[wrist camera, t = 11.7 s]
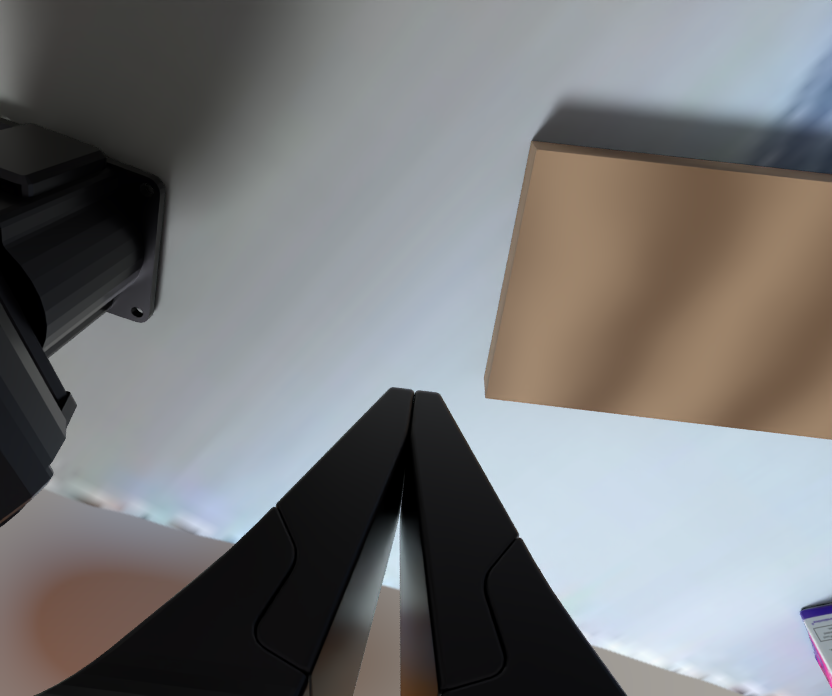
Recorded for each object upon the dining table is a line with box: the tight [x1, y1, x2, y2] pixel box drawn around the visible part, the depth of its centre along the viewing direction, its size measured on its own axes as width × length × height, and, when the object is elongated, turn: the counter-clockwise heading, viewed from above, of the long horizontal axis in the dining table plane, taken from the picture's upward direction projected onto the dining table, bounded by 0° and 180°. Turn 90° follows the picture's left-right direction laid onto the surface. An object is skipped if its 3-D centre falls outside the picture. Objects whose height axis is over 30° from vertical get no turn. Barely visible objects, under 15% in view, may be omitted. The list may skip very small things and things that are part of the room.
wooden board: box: [484, 141, 832, 440], centre depth 19 cm, size 22×10×2 cm, turn 85°
